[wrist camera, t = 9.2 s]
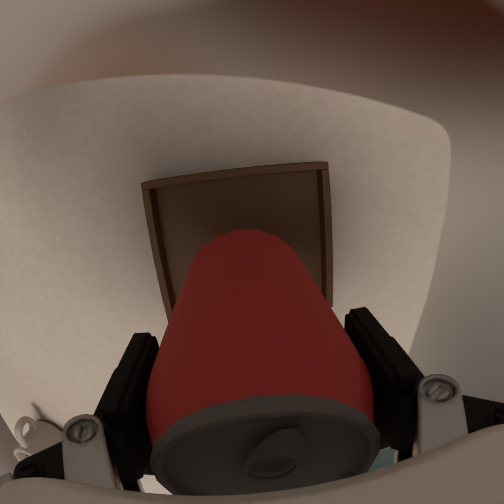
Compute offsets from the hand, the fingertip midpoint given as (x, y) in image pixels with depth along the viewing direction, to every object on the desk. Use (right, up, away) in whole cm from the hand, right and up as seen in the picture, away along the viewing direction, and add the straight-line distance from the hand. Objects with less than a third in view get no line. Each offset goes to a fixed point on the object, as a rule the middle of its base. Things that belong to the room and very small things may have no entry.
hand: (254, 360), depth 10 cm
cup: (-31, -23, +22) cm, 44 cm away
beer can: (0, +2, +7) cm, 7 cm away
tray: (-1, +5, +15) cm, 16 cm away
